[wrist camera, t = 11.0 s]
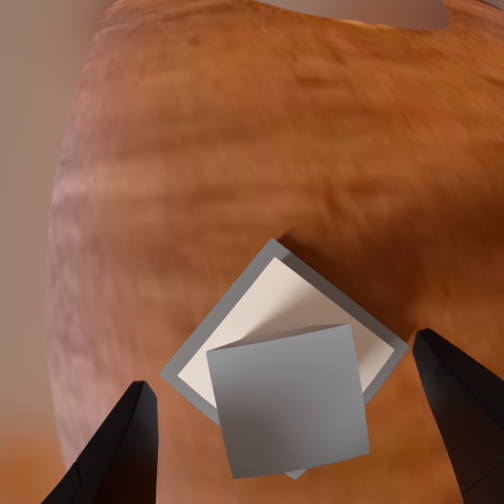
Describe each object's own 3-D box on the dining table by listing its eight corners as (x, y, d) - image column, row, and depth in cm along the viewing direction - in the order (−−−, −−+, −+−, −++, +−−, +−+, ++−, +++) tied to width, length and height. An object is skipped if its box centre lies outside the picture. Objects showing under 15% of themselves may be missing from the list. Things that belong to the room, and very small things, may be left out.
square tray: (397, 344, 21) (409, 346, 19) (294, 466, 20) (295, 480, 17) (272, 246, 24) (271, 237, 21) (170, 369, 22) (158, 373, 20)
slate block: (314, 324, 17) (350, 323, 9) (327, 395, 16) (370, 453, 8) (240, 339, 18) (205, 351, 9) (254, 409, 17) (233, 478, 8)
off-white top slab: (382, 347, 19) (394, 349, 17) (295, 451, 18) (296, 466, 16) (275, 264, 21) (274, 256, 19) (189, 370, 20) (177, 375, 17)
